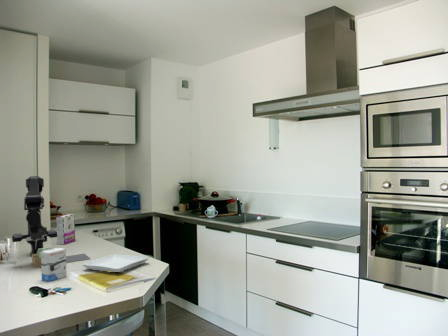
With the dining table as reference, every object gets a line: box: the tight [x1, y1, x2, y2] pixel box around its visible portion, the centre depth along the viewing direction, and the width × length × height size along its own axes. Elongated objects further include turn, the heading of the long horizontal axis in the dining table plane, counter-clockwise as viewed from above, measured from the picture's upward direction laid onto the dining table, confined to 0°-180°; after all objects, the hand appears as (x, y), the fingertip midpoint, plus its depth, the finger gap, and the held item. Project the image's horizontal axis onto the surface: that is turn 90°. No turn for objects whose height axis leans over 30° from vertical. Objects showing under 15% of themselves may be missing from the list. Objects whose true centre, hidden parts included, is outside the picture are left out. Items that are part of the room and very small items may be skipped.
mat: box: [66, 253, 91, 264], centre depth 189 cm, size 13×12×1 cm
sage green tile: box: [37, 246, 53, 258], centre depth 181 cm, size 9×6×2 cm, turn 33°
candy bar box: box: [56, 213, 76, 246], centre depth 228 cm, size 11×5×16 cm, turn 168°
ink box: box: [40, 247, 68, 283], centre depth 157 cm, size 8×5×12 cm, turn 148°
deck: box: [31, 254, 41, 268], centre depth 182 cm, size 12×13×4 cm
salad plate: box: [82, 253, 149, 273], centre depth 172 cm, size 21×21×3 cm
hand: (35, 254), depth 179 cm, fingers closed
